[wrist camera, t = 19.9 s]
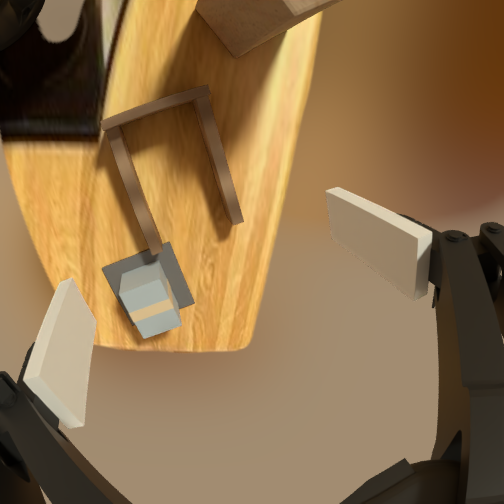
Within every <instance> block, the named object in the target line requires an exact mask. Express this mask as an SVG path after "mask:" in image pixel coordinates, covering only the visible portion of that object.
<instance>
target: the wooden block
mask: <svg viewBox="0 0 504 504" xmlns="http://www.w3.org/2000/svg"><path fill="white" fill-rule="evenodd" d="M340 1H342V0H198V1H197V4H196V6H195V8H196V10H197V12H198V13H199V14H200V15H201V16H202V18H203V19H204V20H205V21H206V22H207V24H208V25H209V26H210V27H211V29H212V30H213V31H214V32H215V34H216V35H217V36H218V37H219V39H220V40H221V41H222V43H223V44H224V45H225V46H226V48H227V49H228V50H229V52H230V53H231V54H232V56H233V57H235V58H238V57H240V56H242V55H243V54H245V53H247V52H248V51H250V50H252V49H254V48H255V47H257V46H259V45H260V44H262V43H264V42H266V41H268V40H269V39H271V38H273V37H275V36H277V35H279V34H281V33H282V32H284V31H286V30H288V29H290V28H292V27H293V26H295V25H297V24H298V23H300V22H302V21H304V20H306V19H307V18H309V17H311V16H313V15H315V14H316V13H318V12H320V11H322V10H324V9H326V8H328V7H330V6H332V5H334V4H336V3H337V2H340Z"/></svg>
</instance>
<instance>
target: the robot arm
mask: <svg viewBox="0 0 504 504" xmlns="http://www.w3.org/2000/svg"><path fill="white" fill-rule="evenodd" d="M44 2H45V0H0V51H2V50H4V49H5V48H7V47H9V46H10V45H12V44H13V43H14V42H16V41H17V40H18V39H19V38H20V37H21V36H22V35H23V34H24V33H25V32H26V31H27V30H28V29H29V28H30V27H31V25H32V24H33V23H34V21H35V20H36V18H37V17H38V15H39V13H40V11H41V9H42V7H43V5H44ZM325 192H326V198H327V206H328V214H329V222H330V230H331V238H332V240H334V241H335V242H337V243H338V244H339V245H341V246H342V247H343V248H345V249H346V250H347V251H349V252H350V253H351V254H353V255H354V256H355V257H357V258H358V259H360V260H361V261H362V262H363V263H365V264H366V265H367V266H369V267H370V268H371V269H373V270H374V271H375V272H377V273H378V274H379V275H380V276H382V277H383V278H384V279H386V280H387V281H388V282H390V283H391V284H392V285H393V286H395V287H396V288H397V289H399V290H400V291H401V292H402V293H404V294H405V295H406V296H407V297H409V298H410V299H411V300H412V301H416V300H417V299H419V298H421V297H422V296H424V295H426V294H427V291H428V282H429V281H430V282H431V283H432V284H434V285H435V289H434V297H433V304H432V308H434V307H435V309H436V320H437V334H438V358H439V399H438V423H437V424H438V425H437V436H436V442H435V445H434V449H433V452H432V457H431V460H427V461H421V462H417V463H413V464H409V463H408V462H407V460H406V459H405V458H404V459H403V460H401V461H399V462H398V463H396V464H395V465H393V466H392V467H390V468H388V469H386V470H385V471H383V472H381V473H379V474H378V475H376V476H374V477H373V478H371V479H369V480H368V481H366V482H365V483H364V484H363V485H362V486H361V487H359V488H358V489H357V490H356V491H355V492H354V493H353V494H351V495H350V496H349V497H347V498H346V499H345V500H344V501H342V502H341V503H340V504H504V344H503V339H502V336H503V338H504V226H502V225H500V224H498V223H494V222H489V223H488V222H487V223H483V224H482V225H481V227H480V234H479V236H475V237H469V236H468V235H467V234H466V233H464V232H461V231H456V230H448V231H445V232H442V233H440V232H438V231H437V230H435V229H433V228H431V227H429V226H427V225H425V224H422V223H421V222H419V221H415V219H413V218H411V217H408V216H406V215H402V214H397V213H394V212H391V211H390V210H388V209H385V208H383V207H381V206H379V205H377V204H375V203H373V202H370V201H368V200H366V199H364V198H362V197H359V196H357V195H355V194H353V193H351V192H348V191H346V190H344V189H342V188H339V187H336V188H333V189H330V190H326V191H325ZM501 270H502V276H501V275H500V273H501ZM96 324H97V321H96V319H95V318H94V316H93V314H92V313H91V311H90V309H89V307H88V306H87V304H86V302H85V300H84V298H83V296H82V295H81V293H80V291H79V289H78V287H77V285H76V283H75V281H74V280H73V278H69V279H67V280H64V281H62V282H60V283H59V285H58V287H57V290H56V292H55V294H54V297H53V299H52V301H51V304H50V306H49V308H48V311H47V313H46V316H45V318H44V321H43V323H42V326H41V328H40V331H39V334H38V336H37V339H36V342H34V343H33V344H32V346H31V347H30V348H29V350H28V352H27V354H26V357H25V361H24V363H23V366H22V367H23V368H22V369H21V372H20V375H19V378H18V381H17V384H16V383H15V382H14V381H13V379H12V378H11V377H10V376H9V374H8V373H6V372H5V371H1V372H0V504H46V502H45V500H44V497H43V494H42V491H41V489H40V487H41V488H42V490H43V491H44V493H45V494H46V495H47V497H48V498H49V500H50V501H51V503H52V504H132V503H131V502H130V501H129V500H128V499H127V498H125V497H124V496H123V495H122V494H121V493H120V492H119V491H118V490H117V489H116V488H114V487H113V486H112V485H111V484H110V483H109V482H108V481H107V480H106V479H105V478H104V477H103V476H102V475H101V474H100V473H99V472H98V471H97V470H96V469H95V468H94V467H93V466H92V465H91V464H90V463H89V461H88V460H86V458H85V457H84V456H83V455H82V454H81V453H80V452H79V451H78V449H77V448H76V447H75V446H74V445H73V444H72V443H71V442H70V440H69V439H68V438H67V437H66V435H65V434H64V433H63V432H62V431H61V430H59V428H58V425H59V420H60V421H61V422H62V423H63V424H64V425H65V426H66V427H67V428H68V429H70V428H75V427H80V426H84V423H85V409H86V398H87V388H88V379H89V370H90V363H91V355H92V348H93V342H94V336H95V330H96ZM501 334H502V335H501ZM39 485H40V486H39Z"/></svg>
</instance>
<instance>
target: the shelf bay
mask: <svg viewBox="0 0 504 504" xmlns="http://www.w3.org/2000/svg"><path fill="white" fill-rule="evenodd" d="M209 94H211V93H210V90H209V86H208V85H204V86H200V87H197V88H193V89H190V90H186V91H183V92H180V93H177V94H173V95H170V96H167V97H164V98H161V99H158V100H155V101H152V102H149V103H146V104H144V105H141V106H138V107H135V108H133V109H130V110H127V111H125V112H122V113H120V114H117V115H114V116H112V117H110V118H107V119H105V120H102V121H100V123H101V126H102V129H103V131H106V133H107V136H108V139H109V142H110V145H111V148H112V151H113V154H114V157H115V160H116V163H117V166H118V169H119V171H120V174H121V177H122V180H123V183H124V185H125V188H126V191H127V193H128V196H129V199H130V201H131V204H132V206H133V209H134V212H135V214H136V217H137V219H138V222H139V224H140V227H141V229H142V232H143V234H144V237H145V239H146V241H147V244H148V246H149V249H150V251H151V253H152V255H155V254H158V253H160V252H163V248H162V240H161V237H160V235H159V232H158V230H157V227H156V225H155V222H154V220H153V217H152V214H151V212H150V209H149V206H148V204H147V201H146V198H145V196H144V193H143V190H142V187H141V185H140V182H139V179H138V176H137V173H136V170H135V168H134V165H133V162H132V159H131V156H130V153H129V150H128V147H127V144H126V141H125V138H124V135H123V131H122V128H121V126H122V125H125V124H127V123H130V122H132V121H135V120H138V119H140V118H143V117H146V116H149V115H151V114H154V113H157V112H160V111H163V110H166V109H169V108H172V107H175V106H178V105H182V104H185V103H188V102H191V101H193V105H194V108H195V112H196V115H197V119H198V122H199V125H200V129H201V132H202V136H203V139H204V142H205V146H206V149H207V152H208V156H209V159H210V162H211V166H212V169H213V172H214V176H215V179H216V182H217V186H218V189H219V192H220V196H221V199H222V202H223V206H224V209H225V212H226V215H227V218H228V219H229V220H230V222H231V223H232V224H233V225H236V224H239V223H242V222H244V220H243V216H242V213H241V209H240V206H239V202H238V199H237V195H236V192H235V188H234V185H233V181H232V178H231V174H230V171H229V167H228V164H227V160H226V157H225V153H224V150H223V146H222V143H221V139H220V136H219V132H218V129H217V125H216V122H215V118H214V115H213V111H212V108H211V104H210V101H209V97H208V95H209Z"/></svg>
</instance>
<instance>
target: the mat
mask: <svg viewBox="0 0 504 504" xmlns="http://www.w3.org/2000/svg"><path fill="white" fill-rule="evenodd" d="M162 248H163V252H160V253H158V254H155V255H152V253H151V251H150V249H149V250H146V251H143V252H141V253H138V254H136V255H133V256H131V257H128V258H125V259H123V260H120V261H118V262H115V263H113V264H110V265H108V266H105V267H103V268H102V270H103V272H104V274H105V276H106V278H107V280H108V282H109V284H110V286H111V288H112V289H113V291H114V293H115V295H116V297H117V299H118V301H119V303H120V304H121V306H122V308H123V310H124V312H125V313H126V315H127V317H128V319H129V320H130V322H131V324H132V326H133V325H135V323H134V322H133V320H132V318H131V317H130V315H129V312H128V310H127V309H126V307H125V305H124V303H123V301H122V299H121V297H120V296H119V290H120V284H121V277H122V274H123V273H126V272H129V271H131V270H134V269H136V268H139V267H142V266H144V265H147V264H150V263H152V262H155V261H157V260H159V262H160V264H161V267H162V269H163V271H164V274H165V276H166V278H167V279H168V282H169V284H170V286H171V289H172V292H173V294H174V296H175V298H176V300H177V302H178V307H179V309H180V308H183V307H186V306H188V305H191V304H194V303H195V302H194V300H193V297H192V295H191V293H190V290H189V288H188V286H187V283H186V281H185V279H184V276H183V274H182V271H181V269H180V266H179V264H178V262H177V259H176V257H175V254H174V252H173V249H172V247H171V244H170V242H167V243H164V244H162Z"/></svg>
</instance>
